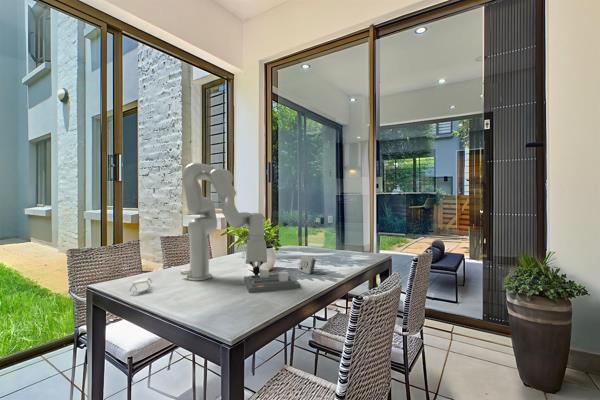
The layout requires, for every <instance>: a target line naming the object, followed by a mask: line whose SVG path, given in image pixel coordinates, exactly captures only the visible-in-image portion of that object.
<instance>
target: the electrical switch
mask: <svg viewBox="0 0 600 400" xmlns="http://www.w3.org/2000/svg"><path fill="white" fill-rule="evenodd" d="M316 261H317V260H316V259H314V257H312V256H307V255H302V254H301V256H300V260H299V266H298V272H300V273H303V274H307V275H310V274H313V273H314V270H315V265H316Z"/></svg>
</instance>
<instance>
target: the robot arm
mask: <svg viewBox="0 0 600 400" xmlns="http://www.w3.org/2000/svg"><path fill="white" fill-rule="evenodd" d="M181 178H182V179H181V180H182V185H183V188H184V189H183V190H184V194H185V195H184V196H185V201H186V207H187V211H188V214H190V215H191V216H200V217H195V218H192V219H190V221H189V222H188V223H187V233H188V238H189V269H187V270H180V275H182V276H186V279H187V280H188V281H206V280H209V279H211V278H212V277H213V275H212V273H210V247H209V246H210V244H209V243H210V242H209V238H208V236H207V235H210V234H213V233H214V232H216V230H217V228H218V220H217V213H216V209H215V204H214V202H213V200H212V199H211V198H209V197H205V196H203V195H204V194H203V189H202V186H201V184H200V182H199V180H201V181H209V182H211V184H212V186H213V188H214V189H215V192H216V194H217V195H218V197H219V198H220V205H221V211H222V214H223V216H224V218H225V220H226V222H227V223H228V225H229V226H230V227H231V228H233V229H242V228H248V235H246V236H245V240H246V241H247V242H246V245H245V246H246V248H245V264H247V265H250V266H252V275H253V274H254V275H255V276H256V275H257V276H258V275H259V274H260V269H261V268H260V267H261V266H262V265H263V264H265V263H267V262H268V250H267V242H266V240H265V215H264V213H262V212H245V211H244V212H239V210H238V209H237V207H236V205H235V201H234V199H235V196H237V191H236V189H235V187H234V186H233V184H232V182H233V181H234V176H233V173H232V172H231V171H230V170H228V169H225V168H222V167H217V166H214V165H210V164H206V163H199V162H198V163H197V162H192V163H189V164H188V165H186V166H185V168H184V169H183V171H182V175H181Z"/></svg>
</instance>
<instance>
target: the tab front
mask: <svg viewBox="0 0 600 400" xmlns="http://www.w3.org/2000/svg"><path fill="white" fill-rule="evenodd" d="M277 274H278V281H279V282H281V281H288V274H289V272H287V271H278V273H277Z"/></svg>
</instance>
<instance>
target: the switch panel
mask: <svg viewBox="0 0 600 400" xmlns="http://www.w3.org/2000/svg"><path fill="white" fill-rule="evenodd" d="M243 281H244V284H245V286H246V289H247V291H248V293H252V294H253V293H262V292H274V291H285V290H297V288H299V289H301V283H300V282H299V281H298V280H297V279H296V278H295V277H294V276H293V275H292V274H291V273H288V281H281V282H279V281H278V273H269V277H264V278H260V274H258V276H257V275H256V276H255V275H253V274H252V275H248V276H243Z"/></svg>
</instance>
